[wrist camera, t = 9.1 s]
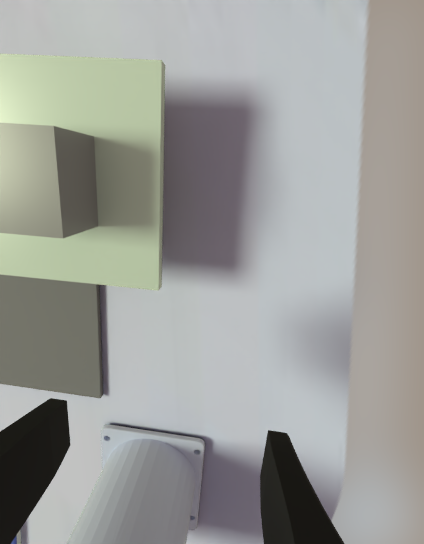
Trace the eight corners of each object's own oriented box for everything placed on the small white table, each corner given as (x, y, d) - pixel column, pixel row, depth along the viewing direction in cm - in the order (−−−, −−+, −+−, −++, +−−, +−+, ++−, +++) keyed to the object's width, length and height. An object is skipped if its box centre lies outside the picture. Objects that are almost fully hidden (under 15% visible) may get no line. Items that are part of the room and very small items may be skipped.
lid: (161, 286, 16) (138, 316, 13) (-17, 268, 17) (-84, 292, 13) (165, 65, 13) (136, 26, 10) (-53, 56, 14) (-152, 16, 10)
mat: (102, 394, 23) (100, 398, 23) (-34, 374, 24) (-38, 378, 23) (98, 252, 20) (95, 254, 19) (-61, 235, 20) (-67, 236, 20)
